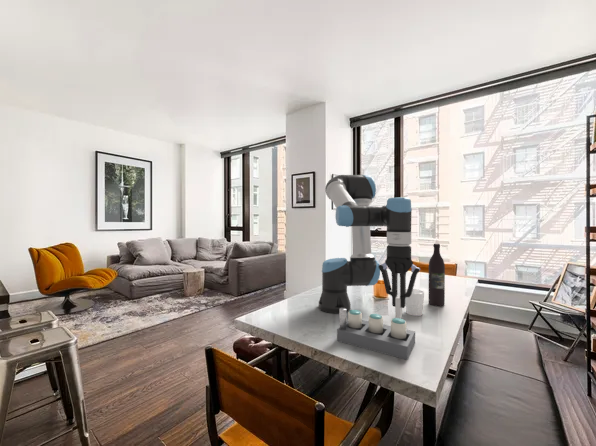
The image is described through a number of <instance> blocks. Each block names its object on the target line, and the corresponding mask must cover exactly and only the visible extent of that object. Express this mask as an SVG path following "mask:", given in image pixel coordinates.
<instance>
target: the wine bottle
mask: <svg viewBox="0 0 596 446" xmlns="http://www.w3.org/2000/svg"><path fill="white" fill-rule="evenodd" d="M440 248H441V245H440V243H433V253H432V255H431V256H430V259H429V261H428V304H429V305H431V306H433V307H438V308H439V307H444V306H445V298H446V297H445V295H446V292H445V291H446V287H445V286H446V285H445V284H446V283H445V282H446V280H445V279H446V277H445V276H446V271H445V270H446V265H445V261H444V258H443V257H442V255H441V253H440V251H441V249H440Z"/></svg>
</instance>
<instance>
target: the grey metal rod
mask: <svg viewBox="0 0 596 446" xmlns="http://www.w3.org/2000/svg"><path fill="white" fill-rule="evenodd" d="M338 314H339V315H338V317H339V320H338V321H339V327H338V328H339V329H340V330H346V322H347V312H346V308H339V313H338Z"/></svg>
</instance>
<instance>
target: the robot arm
mask: <svg viewBox="0 0 596 446" xmlns="http://www.w3.org/2000/svg"><path fill="white" fill-rule="evenodd" d="M324 190H325V195H326V196H327V198H328V199H329V200H331V201H332V204H334V206H335V208H336V209H335V223H336V224H337V226H339V227H346V228H349V227H351V231H352V232H351V233H352V236H351V237H352V255H351V256H349V260H348V259H347V258H345V257H334V258H329V259H326V260H324V261H323V262H322V265H321V266H322V267H321V273H322V274H321V276H322V279H321V280H322V281H321V282H322V283H321V284H322V285H321V286H322V289H321V295H320V297H319V300H318V309H319V310H320V311H322V312H325V313H329V314H339V308H346V313H348V312H349V311H350V310H352V309H351V300H350V298H349V294H348V287H359V286H362V287H363V286H365V287H368V286H369V287H370V286H375V285H376V284H378V282H379V279H380V276H382V281H383V284H384V289H385V293H386V294H387V295H390V296H391V305H392V307H395V308H394V309H395V311H394V312H395V314H394V316H395V317H394V318H399V319H402V317H403V309H405V308H406V305H405V298H406V297H410V296H411V294H412V291H413V289H414V286H415V283H416V279H417V277H418V276H417V275H418V273H419V272H420V271H421V267H420V266H419V267H417V265H415V264H414V262H413V260H412V246H411V244H412V213H413V212H412V211H413V208H412V201H411V199H410V198H409V197H403V196H402V197H390V198H388V199H387V200H386V205H370V204H371V203H372V202H373V199H374V198H375V197H376V193H377V187H376V182H375V180H374V178H373V177H372V176H371V175H369V174H339V175H336V176H333V177H332V178H331V179H329V180H328V182H327V183H326V184H325V189H324ZM371 227H386V243H387V244H388V245H387V246H386V259H385V262H383V263H381V264H380V262H379V260H378V261H377V260H376V257H375V256H374V255H373V254H372V242H371V241H372V240H371V239H372V238H371V237H372V236H371ZM388 269H389V271H390V272H391V281H390V277H389V274H388ZM410 269H411V270H410ZM409 270H410V271H411V272H412V274H411V275H410V278H409V283H408V286H407V283H406V281H407V279H406V278H407V273H408V272H409ZM398 276H399V280H400V281H399V290H400V292H399V293H398ZM390 282H391V283H390ZM406 287H407V288H406ZM406 289H408V290H407V293H406ZM398 294H399V295H398Z"/></svg>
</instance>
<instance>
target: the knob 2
mask: <svg viewBox="0 0 596 446" xmlns="http://www.w3.org/2000/svg"><path fill="white" fill-rule="evenodd" d="M390 326H391V336H392V337H394V338H398V339H404V338H406V329H407V321H406V320H405V319H403V318H400V319H399V318H395V317H394V318H392V319H391V320H390Z"/></svg>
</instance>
